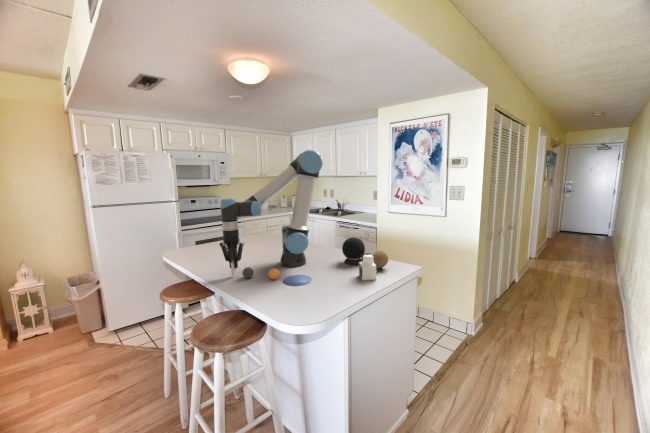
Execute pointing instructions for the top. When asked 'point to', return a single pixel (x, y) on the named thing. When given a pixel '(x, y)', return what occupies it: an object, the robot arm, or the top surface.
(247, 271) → the dark gray ball
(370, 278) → the medicine bottle
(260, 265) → the top surface
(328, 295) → the top surface
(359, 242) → the black sphere on pedestal
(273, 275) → the object ball
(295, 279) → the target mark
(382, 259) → the tan sphere on base
